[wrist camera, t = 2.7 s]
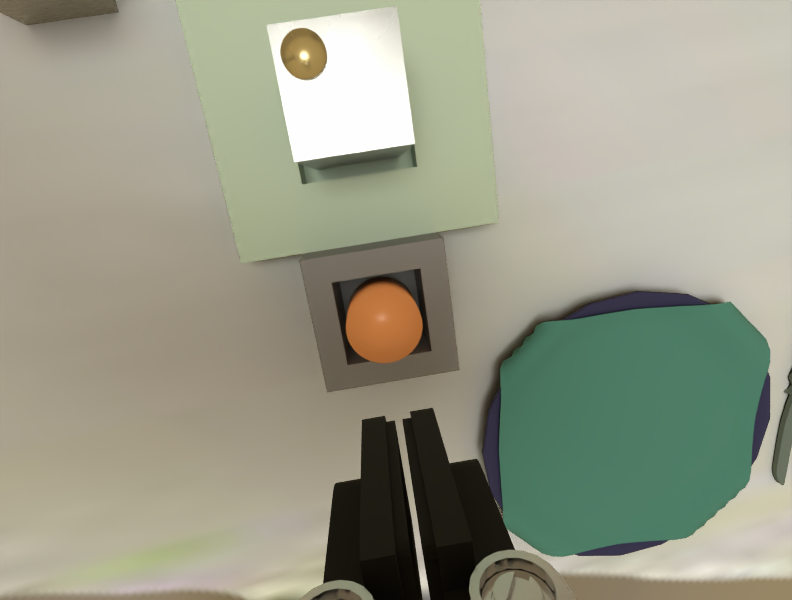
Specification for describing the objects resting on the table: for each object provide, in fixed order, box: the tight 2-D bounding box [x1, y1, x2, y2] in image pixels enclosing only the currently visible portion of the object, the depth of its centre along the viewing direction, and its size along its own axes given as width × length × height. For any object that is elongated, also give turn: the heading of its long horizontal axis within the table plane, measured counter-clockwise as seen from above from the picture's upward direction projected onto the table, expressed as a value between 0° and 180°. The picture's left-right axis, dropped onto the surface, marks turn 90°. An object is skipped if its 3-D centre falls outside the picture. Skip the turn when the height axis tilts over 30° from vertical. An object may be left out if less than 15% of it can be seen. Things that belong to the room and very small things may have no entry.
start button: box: [346, 277, 423, 363], centre depth 22 cm, size 4×4×3 cm
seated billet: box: [266, 6, 415, 170], centre depth 19 cm, size 5×5×8 cm
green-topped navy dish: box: [482, 291, 792, 557], centre depth 30 cm, size 20×30×2 cm, turn 95°
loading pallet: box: [175, 0, 499, 392], centre depth 21 cm, size 29×14×5 cm, turn 8°
